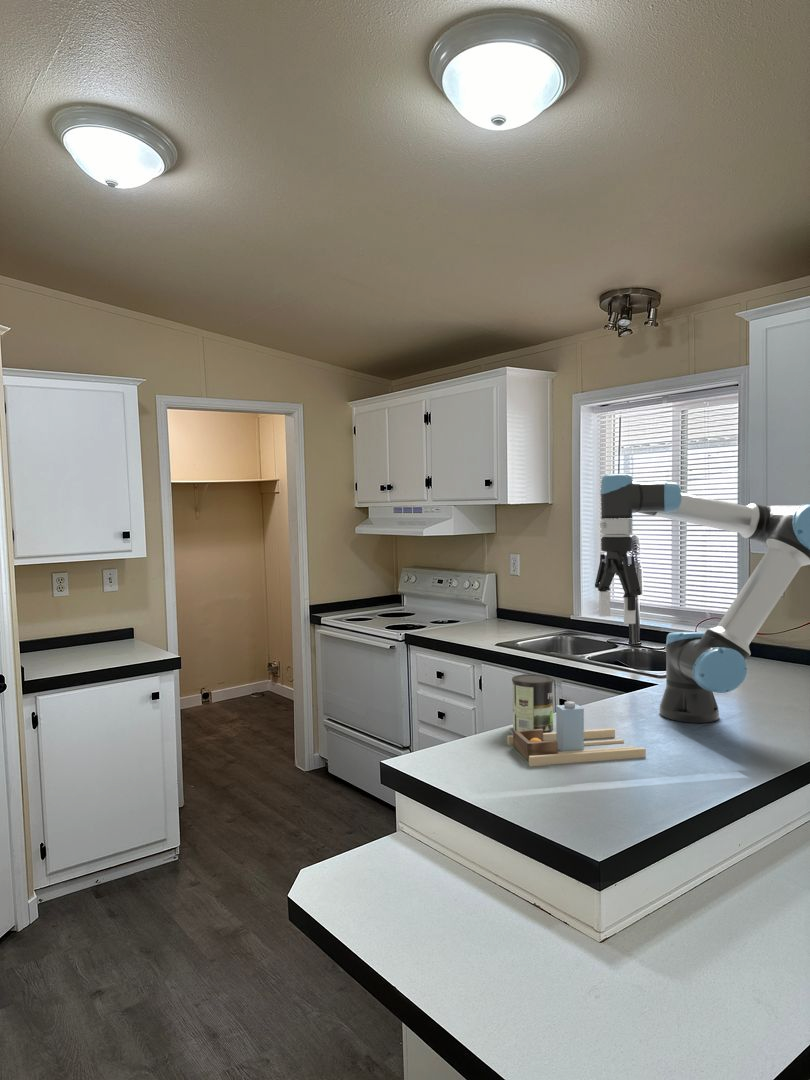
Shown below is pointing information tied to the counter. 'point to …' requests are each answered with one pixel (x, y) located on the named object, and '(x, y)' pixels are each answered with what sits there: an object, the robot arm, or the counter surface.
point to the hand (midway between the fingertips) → (616, 619)
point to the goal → (533, 743)
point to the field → (584, 754)
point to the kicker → (570, 727)
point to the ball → (535, 740)
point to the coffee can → (533, 702)
